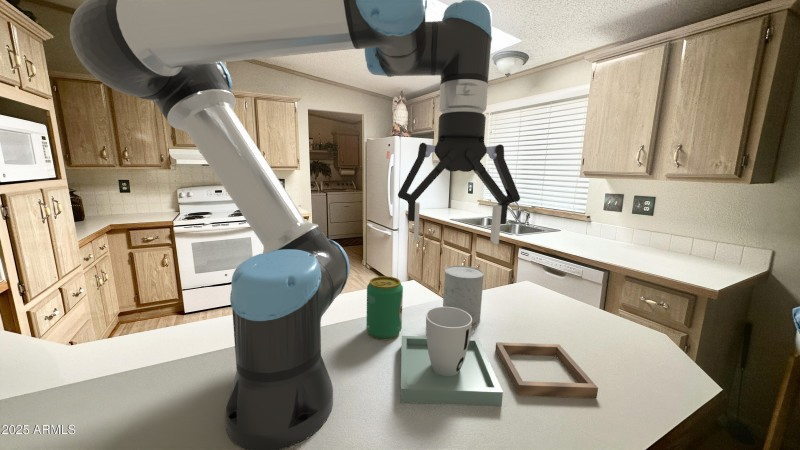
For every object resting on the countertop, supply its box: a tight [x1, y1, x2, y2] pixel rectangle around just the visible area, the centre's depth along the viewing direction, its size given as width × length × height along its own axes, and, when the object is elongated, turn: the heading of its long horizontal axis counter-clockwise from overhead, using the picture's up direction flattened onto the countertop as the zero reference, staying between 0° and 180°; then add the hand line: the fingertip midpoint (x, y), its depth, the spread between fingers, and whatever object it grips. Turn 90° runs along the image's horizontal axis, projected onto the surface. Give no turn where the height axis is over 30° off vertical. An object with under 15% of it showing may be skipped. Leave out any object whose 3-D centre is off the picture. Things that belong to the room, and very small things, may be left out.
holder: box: [495, 341, 599, 400], centre depth 58 cm, size 13×13×2 cm
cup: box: [425, 306, 472, 376], centre depth 56 cm, size 8×8×10 cm
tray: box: [400, 335, 504, 407], centre depth 57 cm, size 16×16×2 cm
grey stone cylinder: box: [442, 265, 485, 328], centre depth 78 cm, size 10×10×12 cm
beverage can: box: [366, 275, 404, 341], centre depth 70 cm, size 8×8×12 cm
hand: (455, 241), depth 54 cm, fingers open, 13 cm apart
